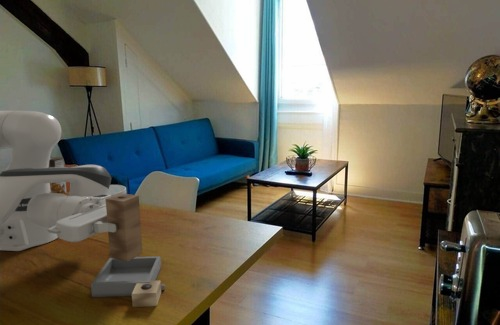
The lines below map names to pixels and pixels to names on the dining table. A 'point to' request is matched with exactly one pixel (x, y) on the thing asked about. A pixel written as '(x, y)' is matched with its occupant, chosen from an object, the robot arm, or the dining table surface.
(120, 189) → the cereal bowl
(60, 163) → the coffee box
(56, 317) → the dining table surface
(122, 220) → the block
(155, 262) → the tray
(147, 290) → the block
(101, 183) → the robot arm
